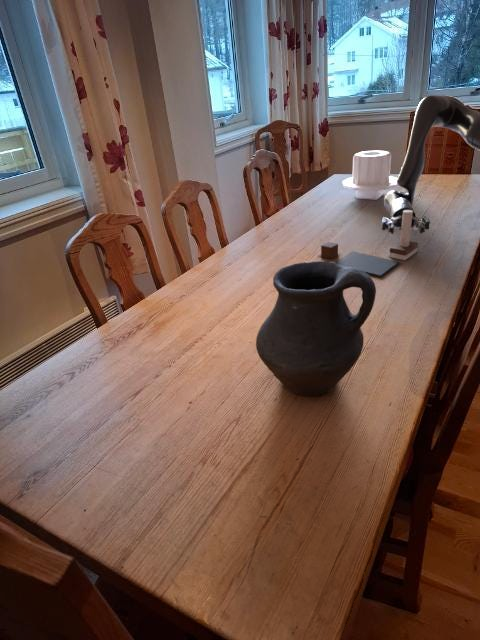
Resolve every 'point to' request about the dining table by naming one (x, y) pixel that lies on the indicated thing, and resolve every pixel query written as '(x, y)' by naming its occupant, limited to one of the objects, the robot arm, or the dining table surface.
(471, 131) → the robot arm
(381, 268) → the mat
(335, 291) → the pitcher
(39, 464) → the dining table surface
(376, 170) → the flanged gear
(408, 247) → the tall white pillar
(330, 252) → the brown cube
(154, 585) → the dining table surface
